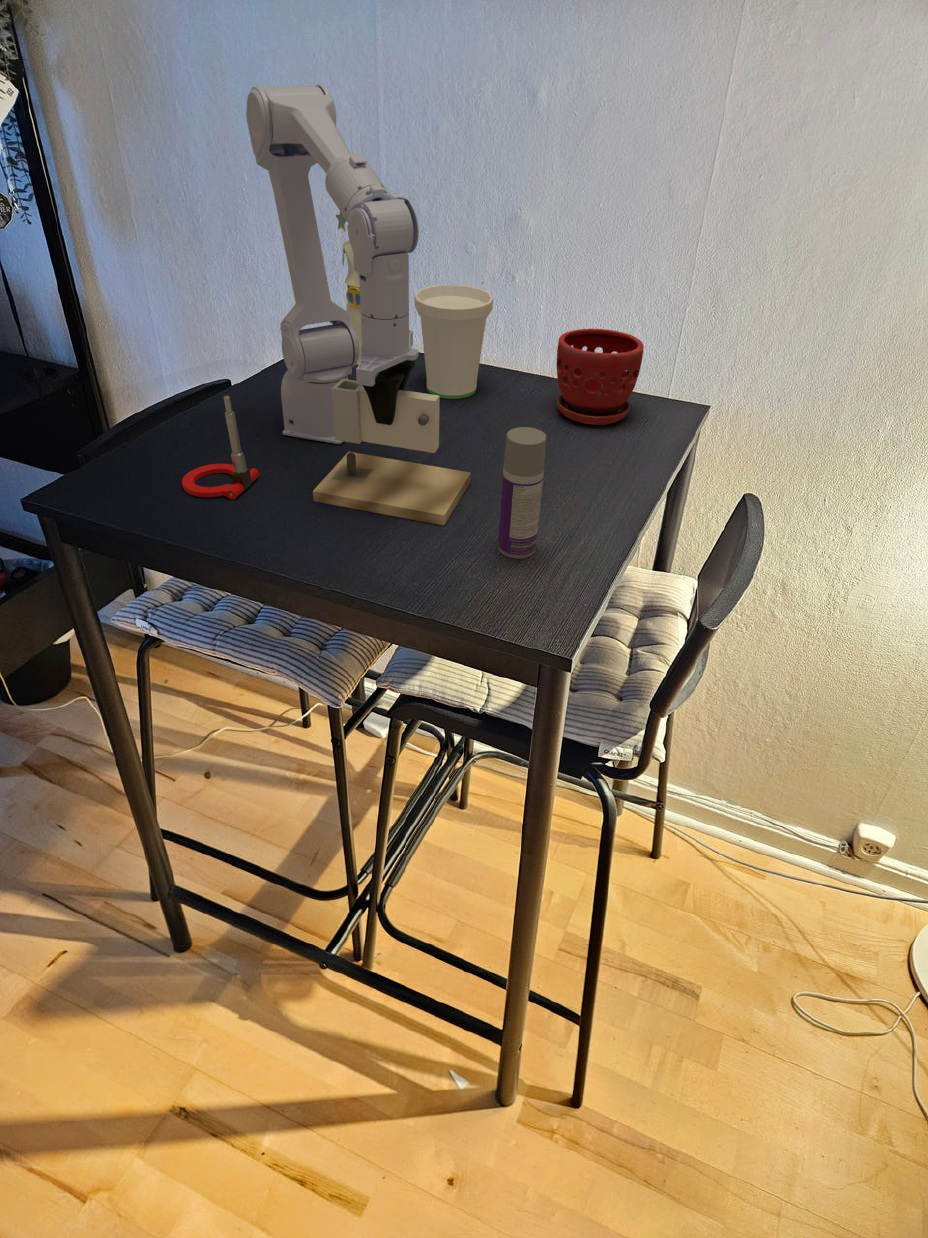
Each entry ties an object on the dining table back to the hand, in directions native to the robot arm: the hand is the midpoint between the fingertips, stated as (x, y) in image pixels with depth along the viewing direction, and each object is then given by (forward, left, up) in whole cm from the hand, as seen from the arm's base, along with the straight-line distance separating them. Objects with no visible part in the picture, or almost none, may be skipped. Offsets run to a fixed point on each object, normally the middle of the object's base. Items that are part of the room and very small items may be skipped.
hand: (387, 419), depth 107 cm
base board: (+1, -1, -10) cm, 10 cm away
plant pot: (+22, +34, -10) cm, 42 cm away
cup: (-2, +35, -10) cm, 37 cm away
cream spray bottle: (-20, +43, -10) cm, 49 cm away
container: (+20, -9, -10) cm, 24 cm away
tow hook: (-22, -7, -10) cm, 25 cm away
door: (0, 0, -3) cm, 3 cm away
